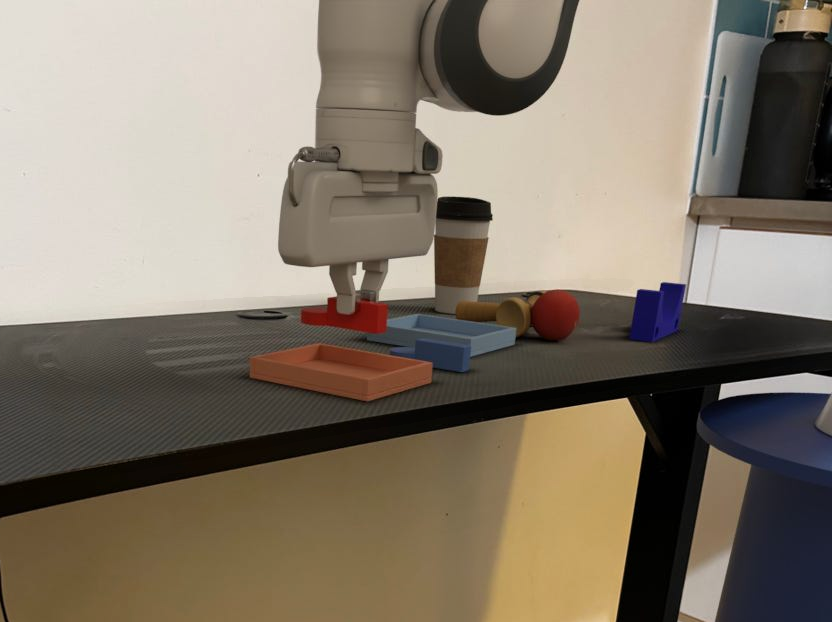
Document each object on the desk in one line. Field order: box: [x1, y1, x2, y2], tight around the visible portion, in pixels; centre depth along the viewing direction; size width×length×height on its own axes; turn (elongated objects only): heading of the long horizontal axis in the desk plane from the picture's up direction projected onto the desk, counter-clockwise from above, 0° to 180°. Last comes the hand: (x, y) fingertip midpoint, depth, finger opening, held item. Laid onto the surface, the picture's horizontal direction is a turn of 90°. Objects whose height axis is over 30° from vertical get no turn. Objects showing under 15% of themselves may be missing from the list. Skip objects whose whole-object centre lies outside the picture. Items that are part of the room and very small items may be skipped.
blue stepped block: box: [389, 338, 471, 373], centre depth 103 cm, size 9×4×3 cm, turn 54°
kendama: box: [454, 289, 581, 342], centre depth 123 cm, size 8×6×18 cm
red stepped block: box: [300, 295, 389, 334], centre depth 93 cm, size 9×4×3 cm, turn 54°
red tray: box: [249, 342, 433, 402], centre depth 95 cm, size 14×11×2 cm
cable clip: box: [628, 281, 687, 343], centre depth 127 cm, size 12×4×6 cm, turn 148°
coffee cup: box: [433, 196, 494, 315], centre depth 137 cm, size 8×8×15 cm
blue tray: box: [366, 313, 517, 358], centre depth 116 cm, size 14×11×2 cm
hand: (357, 311), depth 92 cm, fingers closed on red stepped block
